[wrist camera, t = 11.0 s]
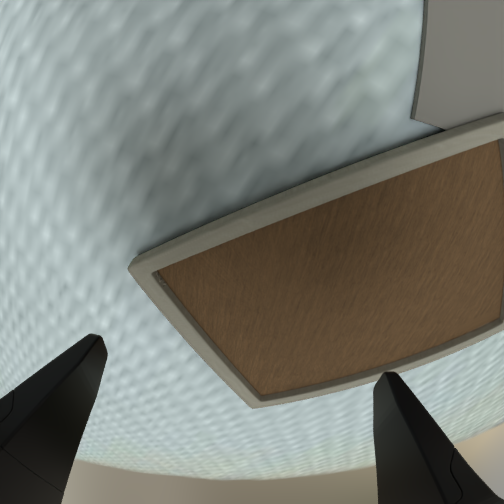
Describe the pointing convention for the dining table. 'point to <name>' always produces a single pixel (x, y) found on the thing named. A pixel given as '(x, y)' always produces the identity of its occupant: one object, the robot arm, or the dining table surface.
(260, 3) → the dining table surface
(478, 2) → the mat
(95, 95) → the dining table surface
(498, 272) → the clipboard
